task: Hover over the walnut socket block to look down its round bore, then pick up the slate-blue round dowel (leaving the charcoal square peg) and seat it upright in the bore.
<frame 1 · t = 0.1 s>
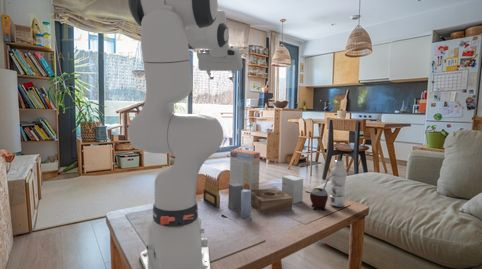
hand: (221, 79, 124), 54 cm above the table, tool tilted 30°, fingers open, 8 cm apart
square peg: (235, 208, 108), on the table
dowel: (245, 216, 100), on the table
small box: (291, 200, 120), on the table
socket block: (269, 205, 112), on the table
mate gourd: (319, 208, 111), on the table
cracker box: (243, 194, 126), on the table
plastic bottle: (336, 206, 114), on the table
ammunition clip: (211, 204, 113), on the table
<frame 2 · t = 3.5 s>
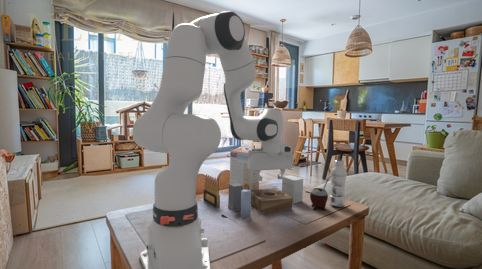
hand: (270, 179, 111), 11 cm above the table, tool pointing down, fingers open, 8 cm apart
nothing on the table moved.
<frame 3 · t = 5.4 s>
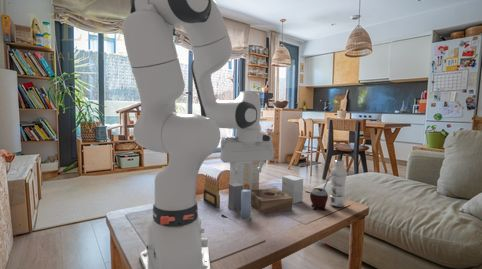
hand: (247, 172, 98), 17 cm above the table, tool pointing down, fingers open, 8 cm apart
nothing on the table moved.
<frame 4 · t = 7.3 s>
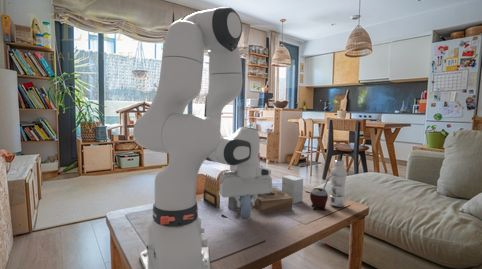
hand: (245, 206, 100), 4 cm above the table, tool pointing down, fingers closed on dowel, 4 cm apart
dowel: (245, 216, 100), on the table, touching gripper
everything else where it was.
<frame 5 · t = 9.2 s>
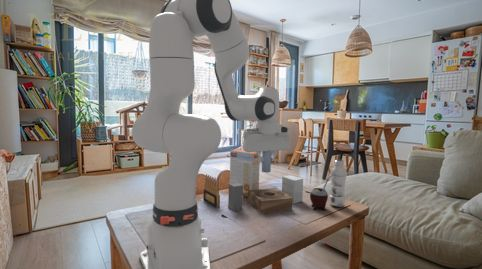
hand: (266, 161, 108), 19 cm above the table, tool pointing down, fingers closed on dowel, 4 cm apart
dowel: (266, 171, 108), point 15 cm above the table, touching gripper
everything else where it was.
when the fingers open (6 cm above the table, at t = 11.6 s): dowel drops 2 cm, resting in socket block.
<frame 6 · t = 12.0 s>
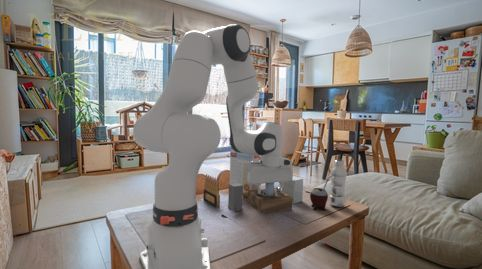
hand: (269, 192, 112), 6 cm above the table, tool pointing down, fingers open, 7 cm apart
dowel: (268, 205, 112), resting in socket block
everything else where it was.
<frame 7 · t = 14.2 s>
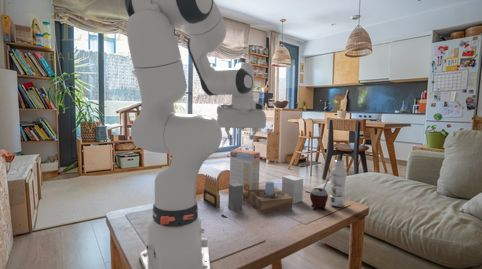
hand: (240, 139, 106), 28 cm above the table, tool pointing down, fingers open, 8 cm apart
nothing on the table moved.
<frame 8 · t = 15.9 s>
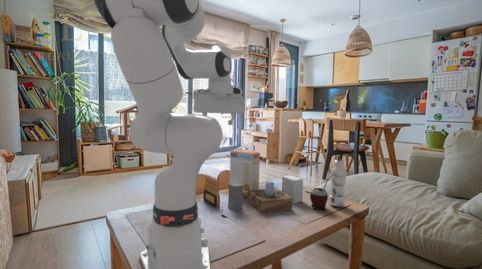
hand: (219, 124, 104), 34 cm above the table, tool pointing down, fingers open, 8 cm apart
nothing on the table moved.
at the end: dowel 0.0 cm off-centre in the socket block, point 0.0 cm above the socket block's base; dowel tilted 0°; the gripper is holding nothing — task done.
